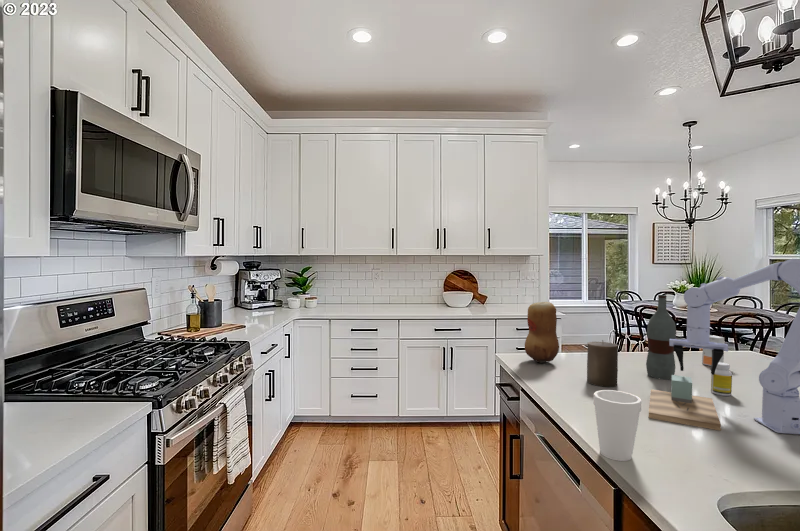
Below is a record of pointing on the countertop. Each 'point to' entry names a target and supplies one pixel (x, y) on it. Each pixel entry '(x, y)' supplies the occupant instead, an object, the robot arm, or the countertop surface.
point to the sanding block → (681, 389)
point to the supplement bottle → (722, 380)
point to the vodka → (661, 343)
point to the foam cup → (616, 423)
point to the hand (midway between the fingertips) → (697, 372)
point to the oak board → (684, 410)
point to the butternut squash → (542, 332)
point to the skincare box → (708, 352)
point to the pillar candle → (602, 364)
